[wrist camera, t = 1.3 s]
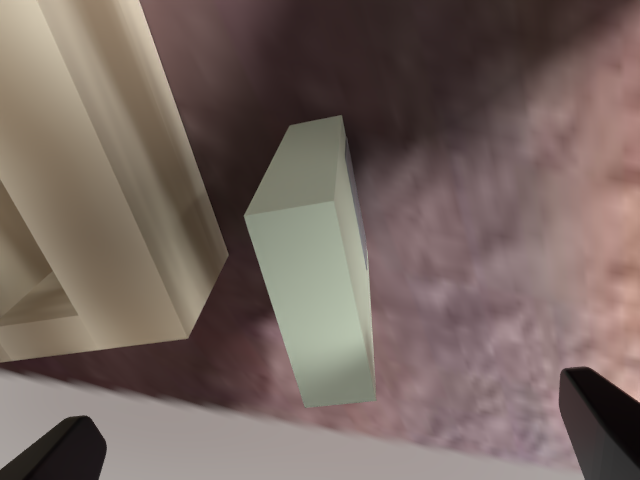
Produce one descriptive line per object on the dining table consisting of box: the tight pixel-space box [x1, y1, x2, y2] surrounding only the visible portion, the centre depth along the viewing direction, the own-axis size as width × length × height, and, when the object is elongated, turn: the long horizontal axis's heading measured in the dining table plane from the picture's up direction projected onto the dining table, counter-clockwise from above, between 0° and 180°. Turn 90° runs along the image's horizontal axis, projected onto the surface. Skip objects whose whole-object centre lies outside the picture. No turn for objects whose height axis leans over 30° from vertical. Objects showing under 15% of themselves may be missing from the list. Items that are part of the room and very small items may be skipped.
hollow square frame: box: [0, 0, 229, 362], centre depth 15 cm, size 10×11×6 cm
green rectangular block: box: [244, 115, 376, 408], centre depth 14 cm, size 2×6×8 cm, turn 12°
